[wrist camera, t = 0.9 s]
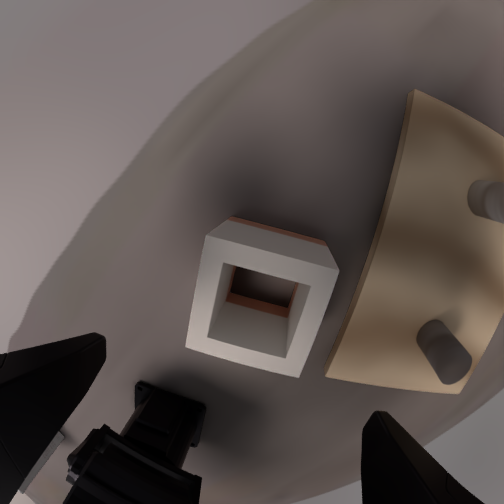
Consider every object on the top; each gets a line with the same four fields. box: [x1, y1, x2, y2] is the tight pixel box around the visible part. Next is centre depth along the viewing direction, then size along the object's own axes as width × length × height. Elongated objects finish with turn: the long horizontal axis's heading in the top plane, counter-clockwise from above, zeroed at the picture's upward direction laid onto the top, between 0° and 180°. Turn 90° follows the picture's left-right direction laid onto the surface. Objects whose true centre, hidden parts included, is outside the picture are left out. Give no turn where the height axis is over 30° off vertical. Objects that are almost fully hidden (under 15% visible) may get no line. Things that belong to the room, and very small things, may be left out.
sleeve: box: [185, 216, 340, 378], centre depth 17 cm, size 6×6×6 cm
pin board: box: [324, 89, 504, 394], centre depth 15 cm, size 20×13×6 cm, turn 166°
